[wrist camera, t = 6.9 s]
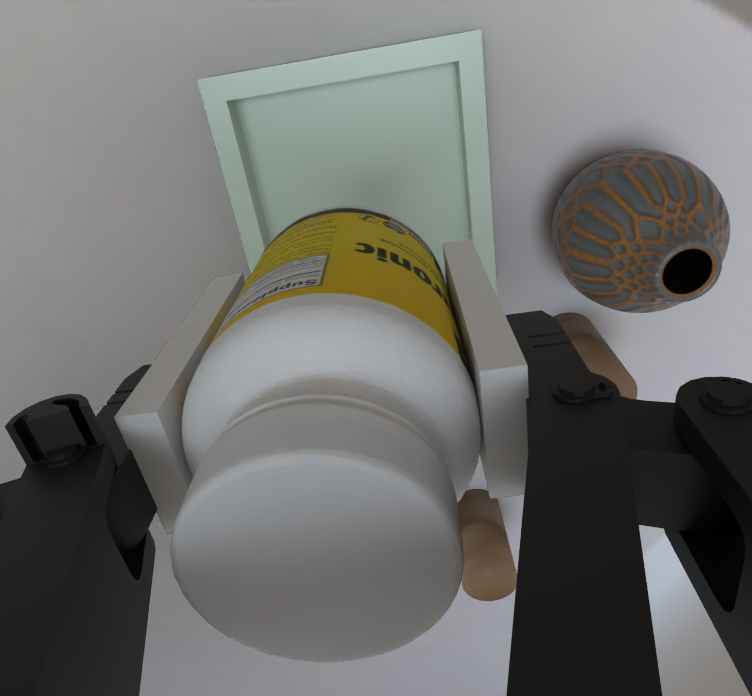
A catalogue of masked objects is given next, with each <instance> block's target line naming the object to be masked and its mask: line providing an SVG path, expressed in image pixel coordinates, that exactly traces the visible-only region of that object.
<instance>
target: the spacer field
mask: <svg viewBox="0 0 752 696" xmlns="http://www.w3.org/2000/svg"><path fill="white" fill-rule="evenodd" d="M554 318H556V319H557V320H558V321H559V323H560V324H561V326H562V328H563V329H564V331H565V334H567V335H568V337H569V339H570V340H571V344H572V343H573V345H574V347H575V348H576V350H577V351H578V353H579V355H580V356H581V358H582V359H583V361H584V363H585V364H586V366H587V367H588V369H589V370H590V372H593V373H596V374H599V375H602V376H605V377H606V378H608V379H609V380H611V381H612V382H614V383H615V384H616V386H617V388H618V389H619V391H620V395H621V396H623V397H627V398H630V399H636V397H637V385H636V383H635V381H634V379H633V378H632V376H631V375H630V374H629V372H628V371H627V370H626V368H625V367H624V366H623V364H622V363H621V362H620V360H619V359H618V358H617V356H616V355H615V354H614V352H613V351H612V350H611V348H610V347H609V346H608V344H607V343H606V342H605V340H604V339H603V338H602V336H601V335H600V334H599V333H598V331H597V330H596V329H595V327H594V326H593V325H592V323H591V322H590V321H589V320H588V319H587V318H586V317H584V316H582V315H580V314H576V313H565V314H560V315H558V316H555V317H554ZM458 517H459V523H460V529H461V535H462V541H463V551H464V569H463V576H462V586H463V589H464V591H465V592H466V593H467V594H468V595H469V596H471V597H472V598H474V599H477V600H482V601H494V600H499V599H502V598H504V597H506V596H508V595H509V594H511V593H512V592H513V591H514V590H515V588H516V584H517V573H516V569H515V565H514V561H513V557H512V554H511V550H510V546H509V542H508V538H507V534H506V530H505V526H504V522H503V518H502V514H501V511H500V507H499V503H498V500H497V498H491V499H490V496H489V492H487V491H484V490H477V489H476V490H469V491H466V492H465V493H464V495H463V496H462V498H461V499H460V501H459V502H458Z"/></svg>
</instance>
